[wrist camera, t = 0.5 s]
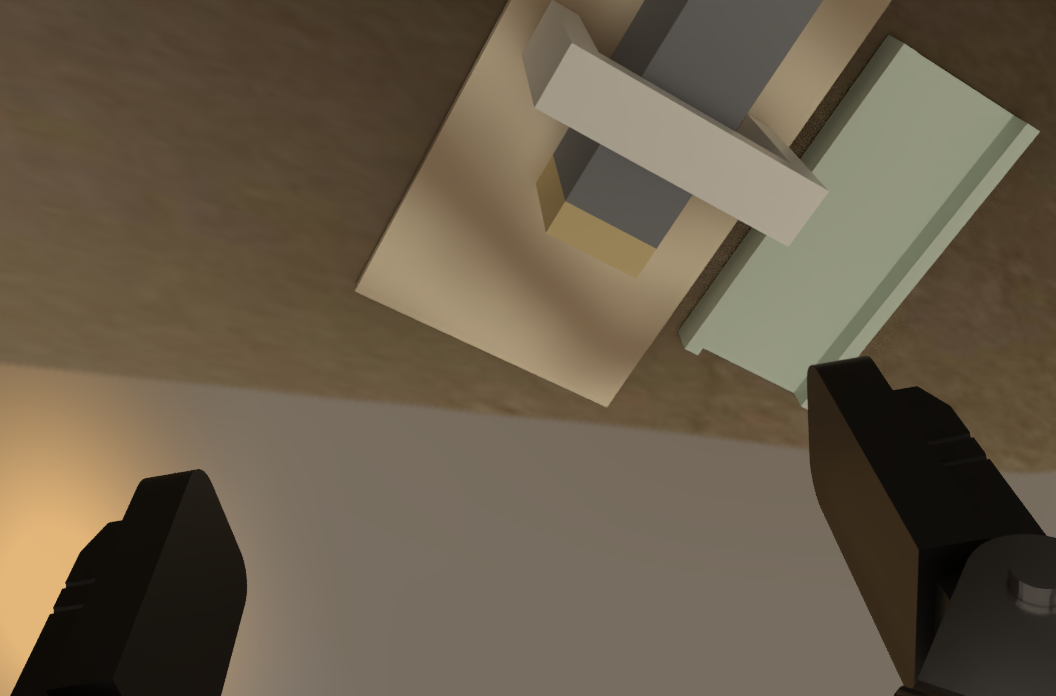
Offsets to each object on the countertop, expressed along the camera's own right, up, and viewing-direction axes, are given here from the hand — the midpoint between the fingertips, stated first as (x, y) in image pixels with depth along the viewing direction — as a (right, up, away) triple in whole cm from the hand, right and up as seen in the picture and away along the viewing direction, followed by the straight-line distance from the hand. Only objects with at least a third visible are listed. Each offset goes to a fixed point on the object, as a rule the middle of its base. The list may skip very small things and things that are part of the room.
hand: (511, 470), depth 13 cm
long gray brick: (+5, +11, +21) cm, 24 cm away
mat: (+12, +6, +25) cm, 28 cm away
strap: (+4, +11, +21) cm, 24 cm away
